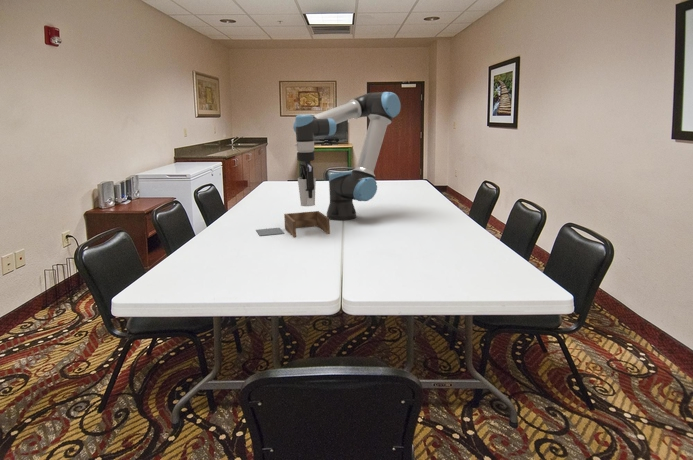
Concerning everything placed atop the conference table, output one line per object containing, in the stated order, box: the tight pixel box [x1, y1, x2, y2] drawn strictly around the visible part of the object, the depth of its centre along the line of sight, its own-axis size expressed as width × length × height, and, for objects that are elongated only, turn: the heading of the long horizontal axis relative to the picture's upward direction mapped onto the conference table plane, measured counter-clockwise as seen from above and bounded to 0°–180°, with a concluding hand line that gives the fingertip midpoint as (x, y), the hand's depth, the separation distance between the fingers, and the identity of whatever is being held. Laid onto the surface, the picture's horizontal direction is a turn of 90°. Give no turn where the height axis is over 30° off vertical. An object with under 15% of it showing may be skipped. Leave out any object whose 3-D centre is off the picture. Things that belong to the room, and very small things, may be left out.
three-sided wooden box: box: [283, 210, 331, 238], centre depth 215 cm, size 16×17×7 cm
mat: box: [255, 227, 285, 237], centre depth 215 cm, size 11×11×1 cm
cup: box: [297, 176, 317, 207], centre depth 209 cm, size 8×8×12 cm
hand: (307, 203), depth 210 cm, fingers closed on cup, 7 cm apart
